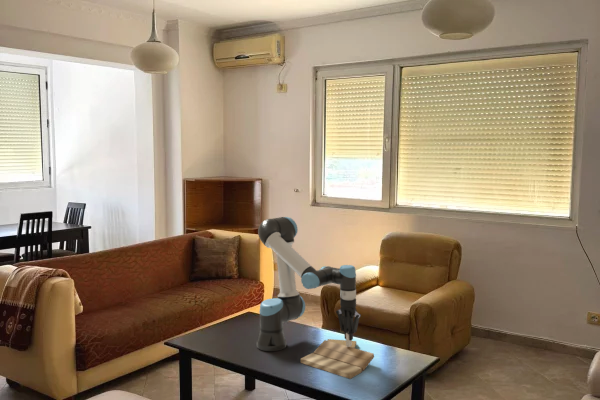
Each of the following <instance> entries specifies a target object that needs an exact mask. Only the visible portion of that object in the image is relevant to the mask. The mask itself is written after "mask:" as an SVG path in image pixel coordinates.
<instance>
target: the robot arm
mask: <svg viewBox="0 0 600 400" xmlns="http://www.w3.org/2000/svg"><path fill="white" fill-rule="evenodd" d="M298 231H299V230H298V225H297V223H296V221H295V220H294V219H293V218H292V217H288V216H280V217H279V216H278V217H274V218H267V219H264V220H263V221H261V223H259V226H258V230H257V233H258V238H259V240H260V242H261V243H262V244H263V245H264V246H265V248H267V249H271V250H272V251H273V252H274V253H275V254H276V266H277V272H278V282H279V293H278V294H277V297H275V298H274V297H273V298H267V299H264V300H263V301H261V303H260V305H259V311H258V313H259V334H258V336H257V340H256V348H257V349H258V350H260V351H263V352H277V351H281V350H284V349H286V347H287V340H286V338H285V332H284V328H283V327H284V323H287V322H290V321H293V320H296V319H298V318H300V317H302V316H303V315H304V313H305V311H306V302H305V299H304V298H303V297H302V296H301V295H300V292H299V291H298V290H297V284H296V275H295V273H296V274H297V276H299V277H300V278H301V279H300V280H301V281H300V282H301V284H302V287H304V288H305V289H307V290H311V289H317V288H320V287H322V286H327V285H329V284H335V285H339V288H340V289H339V294H340V295H339V296H340V297H339V298H340V300H339V301H340V302H339V303H340V307H339V308H340V309H337V310H336V311H335V312H336V315H337V319H338V324H339V327H340V331H341V332H343V334H344V340H346V347H350V346H352V341H354V334H355V333H357V331H358V326H359V322H360V318H361V316H362V314H361V313H359V312H358V311H357V310H358V309H357V286H356V284H357V283H356V282H357V273H356V271H357V270H356V267H355V266H354V265H352V264H343V265H340V267H339V268H337V267H333V266H329V265H328V266H326V265H325V266H322V267H321V268H319V269H317V270H316V268H315V267H314V266H312V265H311V264H310V263H309V262H308V261H307V260H306V259H305V258H304V257H303V256H302V255H301V254H300V253H299V252H297V250H295V248H293V244H294V243H295V237H296V236H297V234H298Z"/></svg>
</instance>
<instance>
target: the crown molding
mask: <svg viewBox="0 0 600 400" xmlns="http://www.w3.org/2000/svg"><path fill="white" fill-rule="evenodd" d="M327 341H330V342H334V343H338V344H341V345H345V346H346V339H333V338H329V339H328V338H327ZM350 347H352V348H355V349H356V347H357V340H352V346H350Z"/></svg>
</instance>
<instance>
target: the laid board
mask: <svg viewBox="0 0 600 400" xmlns="http://www.w3.org/2000/svg"><path fill="white" fill-rule="evenodd" d="M300 363H301V364H304V365H305V366H309V367H312V368H315V369H318V370H322V371H325V372H328V373H331V374H334V375H337V376H340V377H343V378H346V379H350V380H351V379H353V378H354V377H356V376H358V375H360V374H361V373H363V371H362V368H360V367H357V366H354V365H350V364H347V363H344V362H340V361H337V360H334V359H331V358H327V357H324V356H321V355H317V354H314V353H313V352H312V353H310V354H307V355H305V356H303V357H301V358H300Z"/></svg>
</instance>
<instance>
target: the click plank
mask: <svg viewBox="0 0 600 400" xmlns="http://www.w3.org/2000/svg"><path fill="white" fill-rule="evenodd" d="M327 340H328V339H327ZM327 340H326V339H325V340H323V341H322V342H321V344H320V345H318V347H317V348H316V349H315V350H314V351H313V352H312V353H314V354H317V355H321V356H324V357H327V358H331V359H334V360H337V361H340V362H344V363H347V364H350V365H354V366H357V367H360V368H362V372H364V371H365V370H366V369H367V367H368V365H370V363H371V362H372V361H373V359H374V358H375V354H374V353H373V352H370V351H366V350H363V349H359V348H356V347H355V348H352V347H346V346H345V345H341V344H338V343H334V342H330V341H327Z"/></svg>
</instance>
